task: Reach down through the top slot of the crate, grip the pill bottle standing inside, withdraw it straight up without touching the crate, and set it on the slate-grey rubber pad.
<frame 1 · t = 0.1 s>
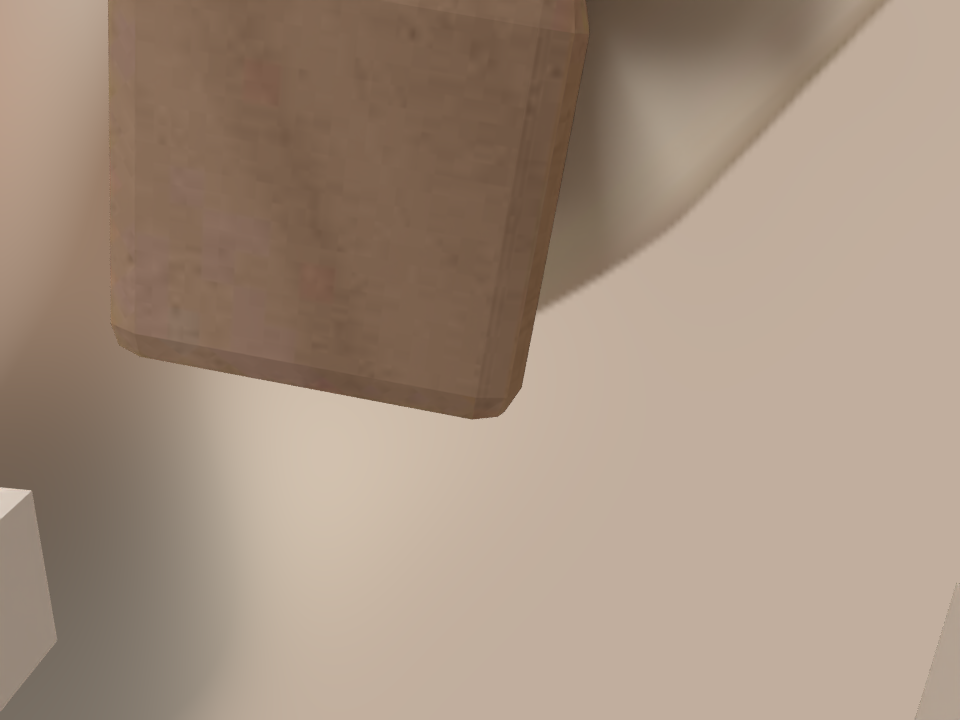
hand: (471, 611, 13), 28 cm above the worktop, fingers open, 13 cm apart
block: (449, 89, 38), on the worktop
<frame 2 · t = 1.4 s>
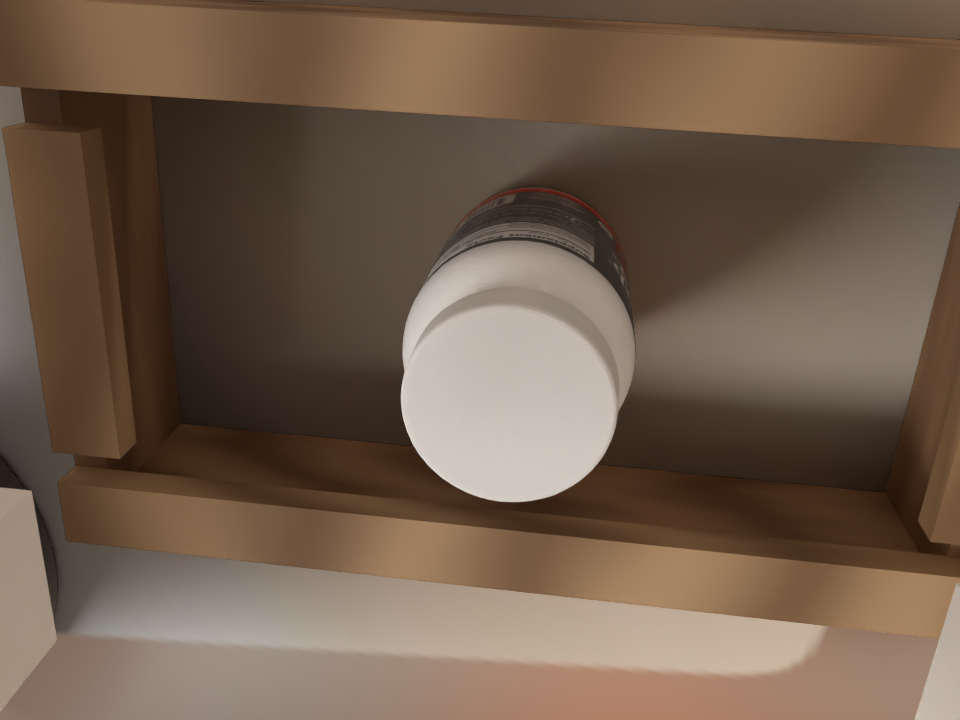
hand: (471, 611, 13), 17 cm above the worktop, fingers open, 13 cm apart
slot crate: (534, 274, 28), on the worktop
pill bottle: (534, 271, 28), resting in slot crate
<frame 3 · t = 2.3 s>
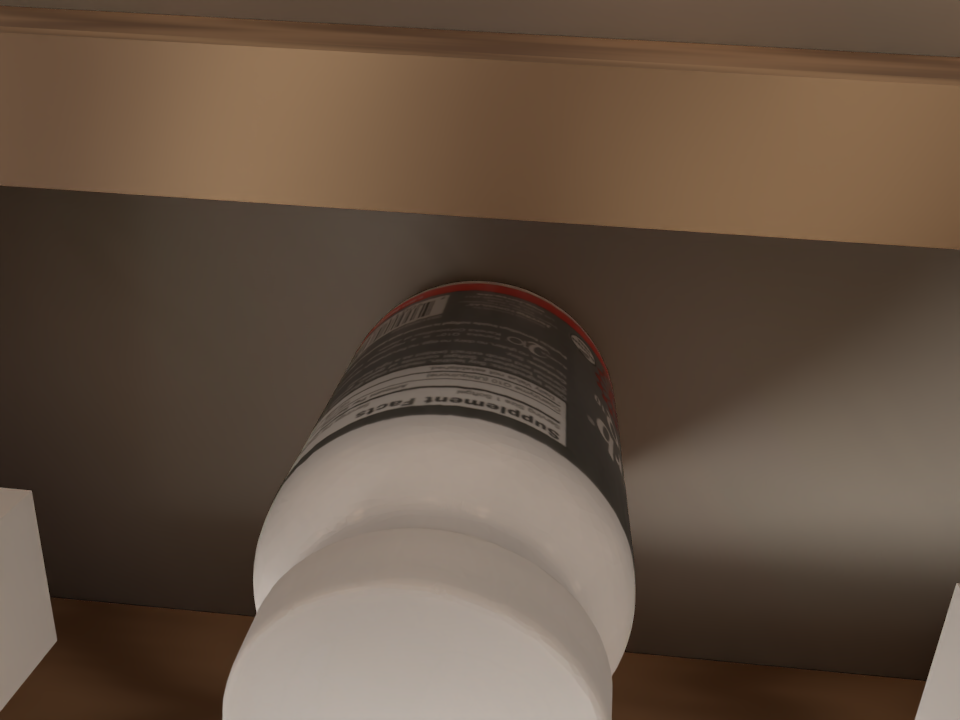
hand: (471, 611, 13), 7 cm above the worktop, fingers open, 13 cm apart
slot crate: (481, 398, 20), on the worktop
pill bottle: (482, 393, 20), resting in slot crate
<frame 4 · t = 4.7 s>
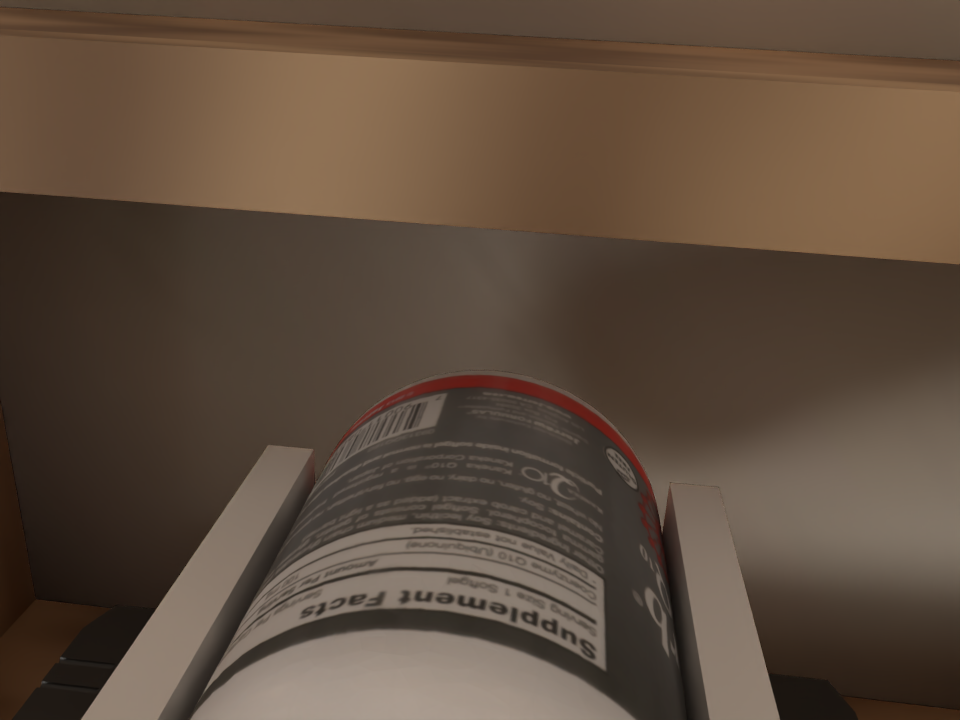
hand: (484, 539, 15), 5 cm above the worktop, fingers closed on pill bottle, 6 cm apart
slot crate: (527, 412, 19), on the worktop
pill bottle: (490, 503, 16), point 4 cm above the worktop, touching gripper
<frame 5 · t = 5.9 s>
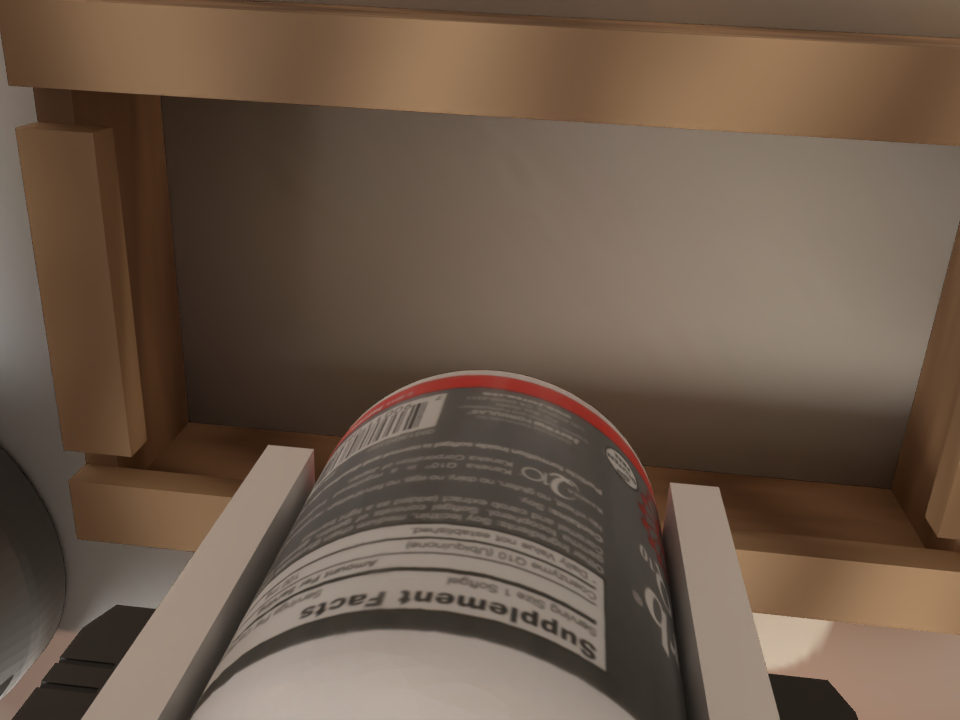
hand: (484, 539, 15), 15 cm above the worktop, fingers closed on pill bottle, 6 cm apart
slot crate: (541, 272, 28), on the worktop
pill bottle: (490, 503, 16), point 14 cm above the worktop, touching gripper
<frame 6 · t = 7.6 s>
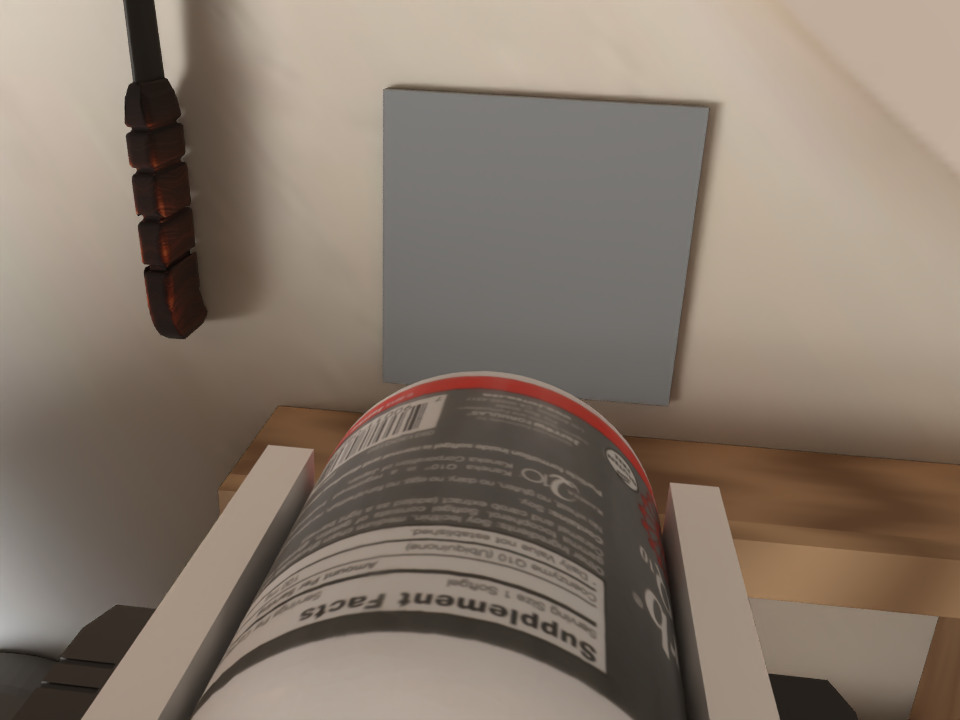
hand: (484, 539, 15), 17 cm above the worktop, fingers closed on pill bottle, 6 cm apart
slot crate: (612, 607, 35), on the worktop
slate pad: (533, 252, 30), on the worktop
knife: (175, 74, 29), on the worktop
pill bottle: (490, 504, 16), point 16 cm above the worktop, touching gripper
when the fingers open (3 cm above the worktop, at t = 10.4 s): pill bottle drops 2 cm, resting on slate pad.
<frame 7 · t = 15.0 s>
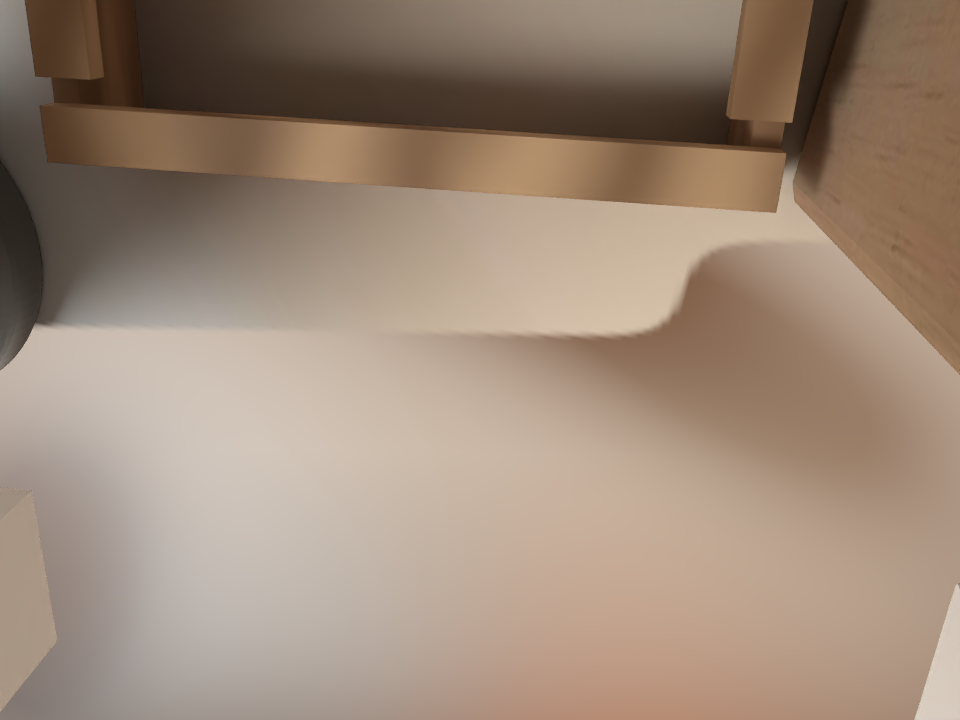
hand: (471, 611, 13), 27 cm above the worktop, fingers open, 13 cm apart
block: (947, 97, 35), on the worktop
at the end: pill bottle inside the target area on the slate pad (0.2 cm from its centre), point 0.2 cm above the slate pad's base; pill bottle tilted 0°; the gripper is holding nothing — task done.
